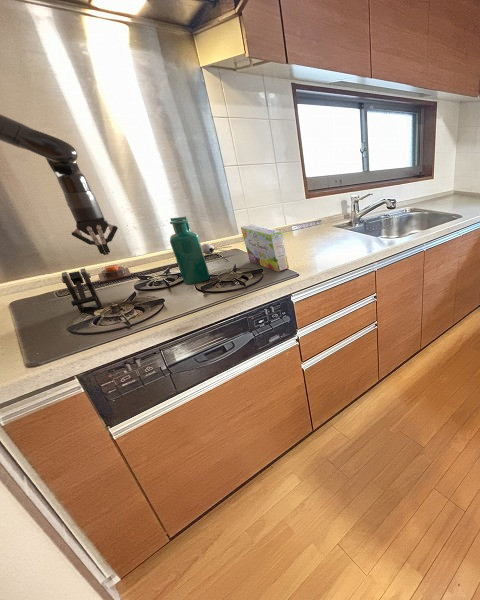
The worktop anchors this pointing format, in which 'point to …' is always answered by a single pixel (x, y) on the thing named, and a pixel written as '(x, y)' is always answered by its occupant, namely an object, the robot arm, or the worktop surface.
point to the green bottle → (188, 252)
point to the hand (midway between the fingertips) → (105, 254)
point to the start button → (111, 268)
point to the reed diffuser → (210, 249)
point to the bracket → (74, 293)
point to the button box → (114, 275)
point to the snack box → (265, 247)
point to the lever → (80, 289)
